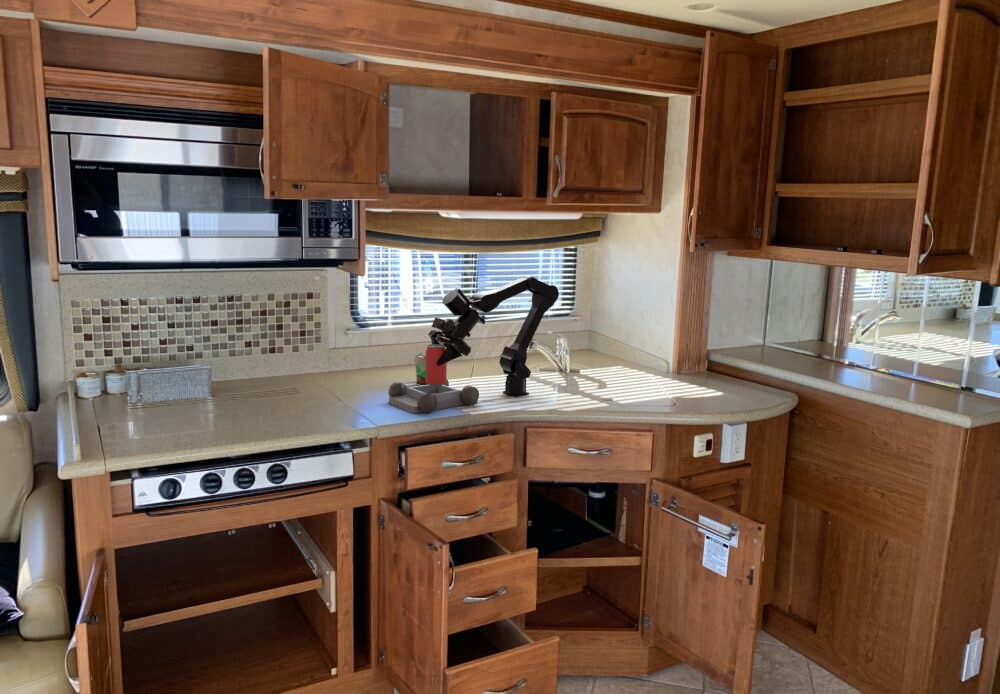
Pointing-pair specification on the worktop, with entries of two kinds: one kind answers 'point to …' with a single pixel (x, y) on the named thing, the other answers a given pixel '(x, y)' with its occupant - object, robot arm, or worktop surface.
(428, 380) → the beer can
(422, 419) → the worktop surface
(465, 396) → the chassis
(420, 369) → the food container
